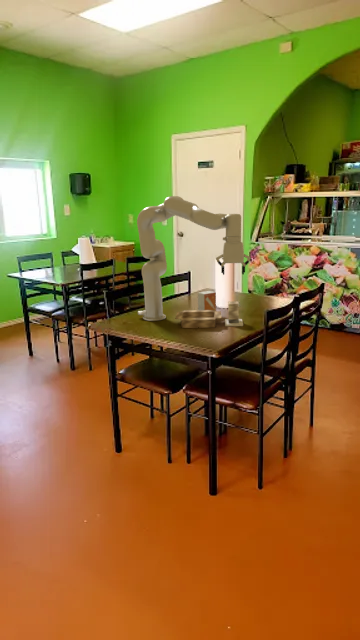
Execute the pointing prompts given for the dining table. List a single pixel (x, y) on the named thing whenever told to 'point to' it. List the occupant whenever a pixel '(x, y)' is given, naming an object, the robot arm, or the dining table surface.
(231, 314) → the block
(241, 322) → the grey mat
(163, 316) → the robot arm
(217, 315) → the brown wooden tray
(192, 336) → the dining table surface
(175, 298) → the dining table surface
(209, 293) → the small box
